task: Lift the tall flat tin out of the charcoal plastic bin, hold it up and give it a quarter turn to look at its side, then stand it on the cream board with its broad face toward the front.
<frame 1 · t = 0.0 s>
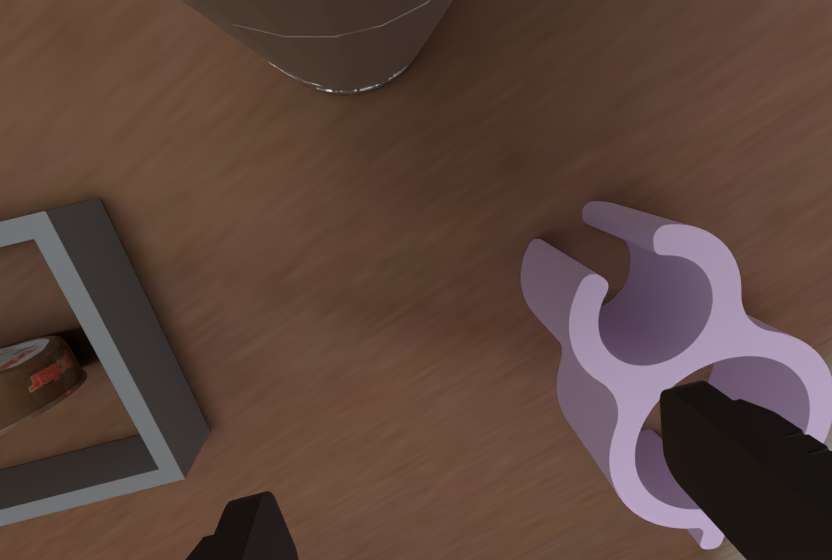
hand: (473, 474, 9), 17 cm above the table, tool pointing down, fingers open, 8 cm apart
clip: (626, 341, 29), on the table
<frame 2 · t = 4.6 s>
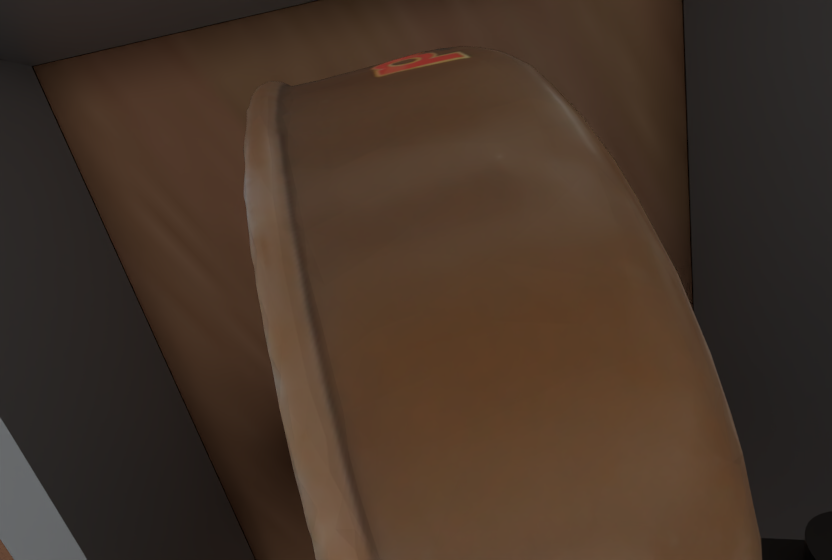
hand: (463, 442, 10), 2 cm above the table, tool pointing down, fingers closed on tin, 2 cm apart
bin: (455, 401, 11), on the table
tin: (460, 395, 12), resting in bin, touching gripper
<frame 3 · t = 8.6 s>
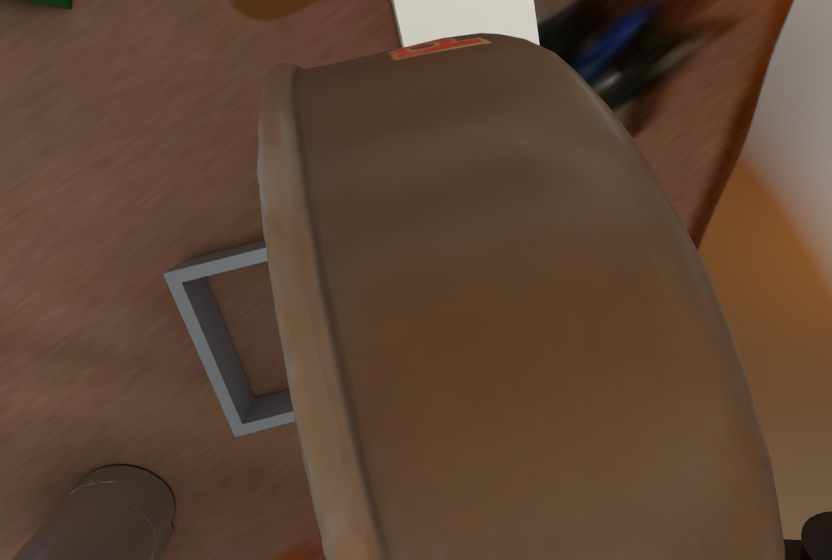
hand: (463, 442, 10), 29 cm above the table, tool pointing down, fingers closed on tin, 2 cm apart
bin: (333, 310, 39), on the table
cream board: (472, 75, 34), on the table
tin: (460, 394, 11), point 27 cm above the table, touching gripper
when the fingers open (4 cm above the table, at t = 13.1 s): tin stays where it is, resting on cream board.
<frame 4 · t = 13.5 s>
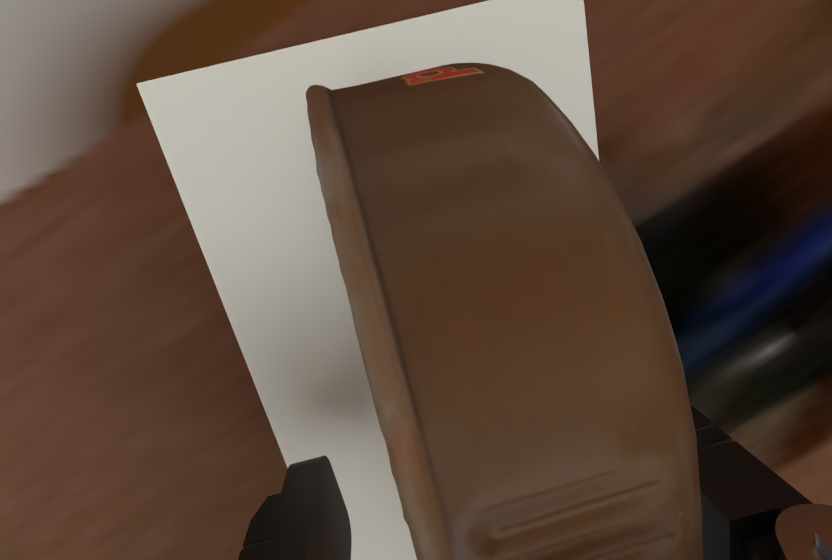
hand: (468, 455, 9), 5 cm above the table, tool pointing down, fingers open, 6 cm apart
cream board: (437, 358, 14), on the table
tin: (452, 378, 12), point 1 cm above the table, touching cream board
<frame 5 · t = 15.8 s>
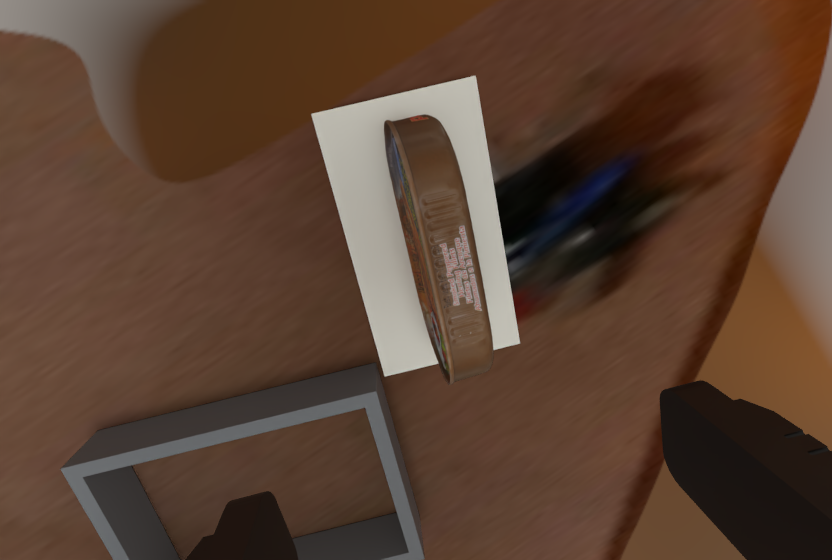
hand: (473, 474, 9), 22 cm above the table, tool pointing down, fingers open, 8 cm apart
bin: (270, 476, 34), on the table
cream board: (423, 235, 30), on the table
tin: (429, 239, 29), point 1 cm above the table, touching cream board
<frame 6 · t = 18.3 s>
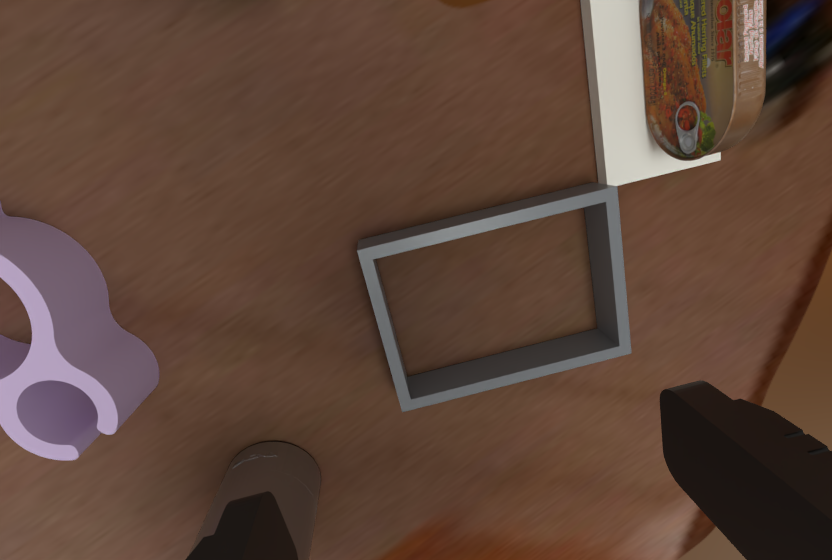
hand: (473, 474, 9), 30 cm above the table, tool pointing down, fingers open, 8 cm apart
bin: (491, 290, 40), on the table
cream board: (646, 62, 36), on the table
tin: (659, 59, 34), point 1 cm above the table, touching cream board
clip: (56, 313, 37), on the table
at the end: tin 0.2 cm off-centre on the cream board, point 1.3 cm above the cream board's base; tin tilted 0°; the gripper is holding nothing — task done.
